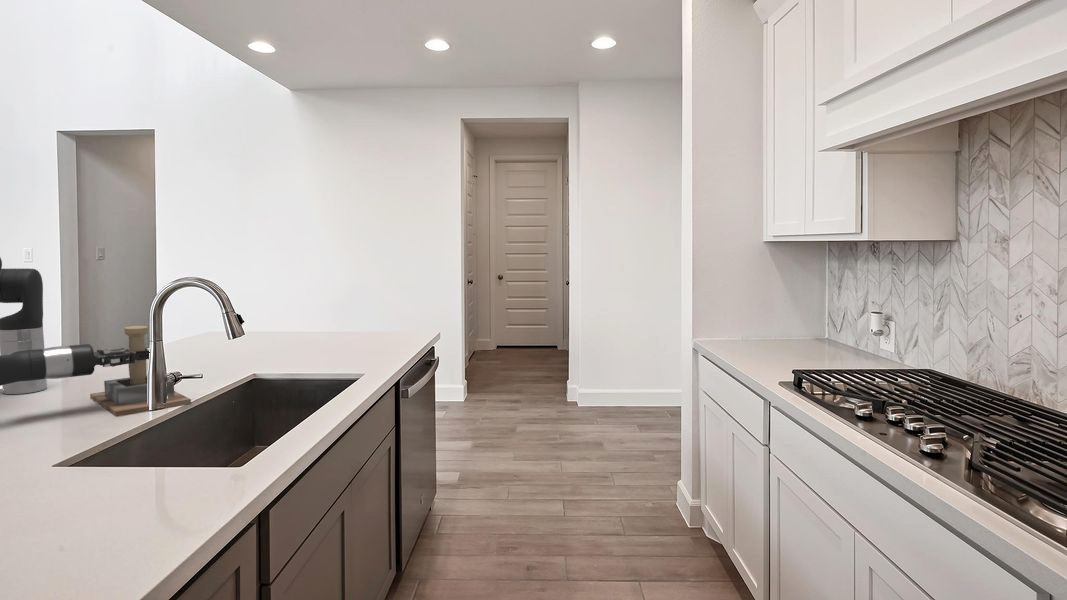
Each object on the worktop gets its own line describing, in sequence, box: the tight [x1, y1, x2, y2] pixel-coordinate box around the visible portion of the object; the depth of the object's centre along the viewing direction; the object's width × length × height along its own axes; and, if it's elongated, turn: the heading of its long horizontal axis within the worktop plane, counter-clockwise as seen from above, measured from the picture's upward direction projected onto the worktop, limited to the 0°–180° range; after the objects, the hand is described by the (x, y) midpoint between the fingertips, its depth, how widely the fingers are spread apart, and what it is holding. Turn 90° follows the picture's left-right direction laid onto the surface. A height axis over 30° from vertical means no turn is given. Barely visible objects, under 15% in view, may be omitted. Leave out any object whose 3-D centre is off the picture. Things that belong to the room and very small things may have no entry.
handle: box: [124, 325, 149, 386], centre depth 154 cm, size 5×6×15 cm
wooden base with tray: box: [89, 374, 192, 418], centre depth 155 cm, size 24×16×5 cm, turn 48°
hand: (149, 353), depth 156 cm, fingers closed on handle, 3 cm apart
